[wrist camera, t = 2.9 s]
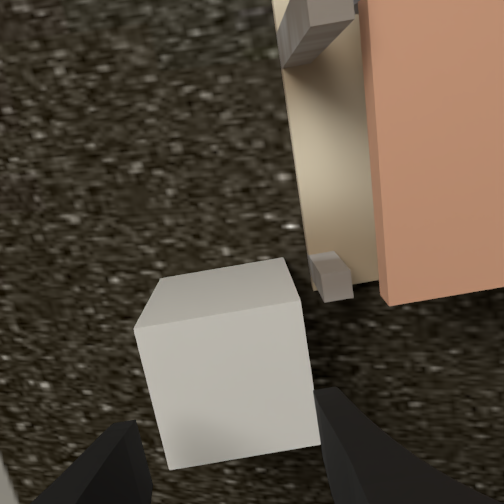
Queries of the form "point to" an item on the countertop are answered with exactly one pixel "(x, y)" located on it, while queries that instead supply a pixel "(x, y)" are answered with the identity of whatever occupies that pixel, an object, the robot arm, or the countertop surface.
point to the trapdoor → (435, 144)
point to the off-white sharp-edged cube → (228, 364)
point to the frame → (329, 140)
